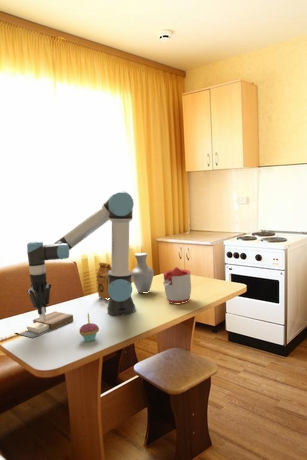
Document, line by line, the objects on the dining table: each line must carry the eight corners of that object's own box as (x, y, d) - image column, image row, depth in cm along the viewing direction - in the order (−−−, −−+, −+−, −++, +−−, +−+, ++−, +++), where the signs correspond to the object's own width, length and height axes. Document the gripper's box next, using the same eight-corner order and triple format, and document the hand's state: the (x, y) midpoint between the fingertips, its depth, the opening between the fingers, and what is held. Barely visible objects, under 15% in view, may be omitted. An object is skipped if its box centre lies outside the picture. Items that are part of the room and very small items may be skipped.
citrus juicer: (157, 303, 206) (154, 268, 204) (178, 295, 217) (176, 263, 215) (176, 308, 194) (174, 272, 192) (198, 300, 205) (196, 266, 203)
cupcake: (81, 336, 164) (79, 311, 163) (100, 334, 165) (98, 309, 164) (79, 344, 156) (76, 317, 155) (99, 342, 156) (96, 315, 155)
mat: (51, 330, 175) (51, 329, 175) (32, 338, 166) (32, 337, 166) (33, 325, 183) (33, 324, 183) (14, 333, 174) (14, 332, 174)
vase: (129, 292, 233) (126, 254, 231) (149, 288, 239) (146, 251, 237) (137, 297, 220) (134, 257, 218) (158, 293, 226) (156, 253, 224)
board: (73, 320, 187) (72, 314, 186) (51, 330, 175) (51, 324, 175) (55, 316, 195) (55, 311, 194) (33, 325, 183) (33, 319, 183)
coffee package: (106, 301, 215) (102, 265, 213) (96, 297, 225) (93, 263, 223) (120, 298, 221) (117, 262, 219) (110, 294, 231) (107, 260, 229)
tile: (49, 328, 176) (48, 324, 176) (39, 333, 171) (38, 329, 171) (37, 325, 181) (37, 322, 181) (27, 330, 176) (26, 326, 176)
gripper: (43, 269, 183) (48, 314, 186) (21, 275, 173) (26, 323, 175) (53, 270, 179) (58, 316, 181) (31, 276, 168) (36, 325, 171)
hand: (42, 319), depth 178 cm, fingers closed
